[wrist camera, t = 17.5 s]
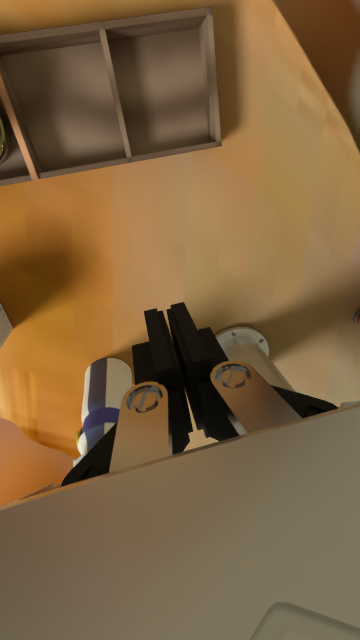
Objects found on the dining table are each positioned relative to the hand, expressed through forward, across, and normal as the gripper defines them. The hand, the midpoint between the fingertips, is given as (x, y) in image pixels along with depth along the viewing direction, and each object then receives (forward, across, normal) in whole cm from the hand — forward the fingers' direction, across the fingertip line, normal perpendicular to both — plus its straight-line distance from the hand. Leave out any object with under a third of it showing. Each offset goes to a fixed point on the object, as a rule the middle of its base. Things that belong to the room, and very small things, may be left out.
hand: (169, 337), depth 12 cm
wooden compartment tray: (+29, +4, -12) cm, 32 cm away
